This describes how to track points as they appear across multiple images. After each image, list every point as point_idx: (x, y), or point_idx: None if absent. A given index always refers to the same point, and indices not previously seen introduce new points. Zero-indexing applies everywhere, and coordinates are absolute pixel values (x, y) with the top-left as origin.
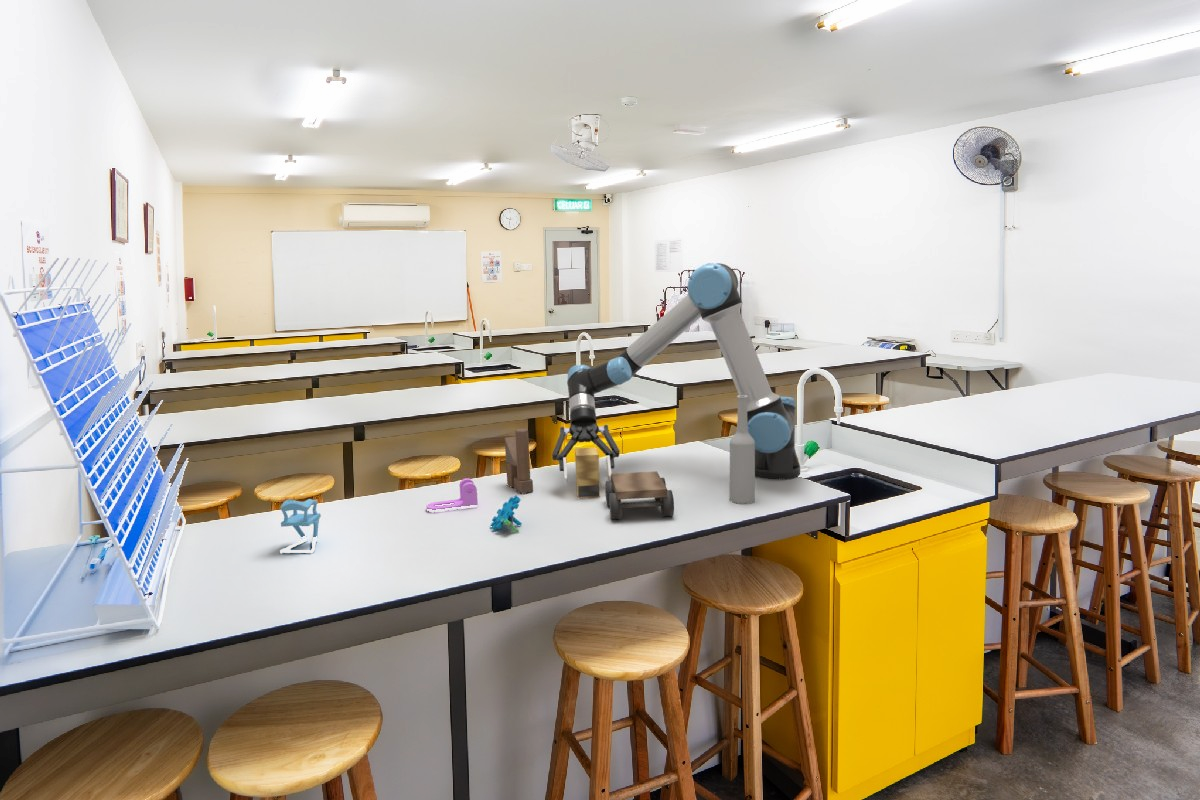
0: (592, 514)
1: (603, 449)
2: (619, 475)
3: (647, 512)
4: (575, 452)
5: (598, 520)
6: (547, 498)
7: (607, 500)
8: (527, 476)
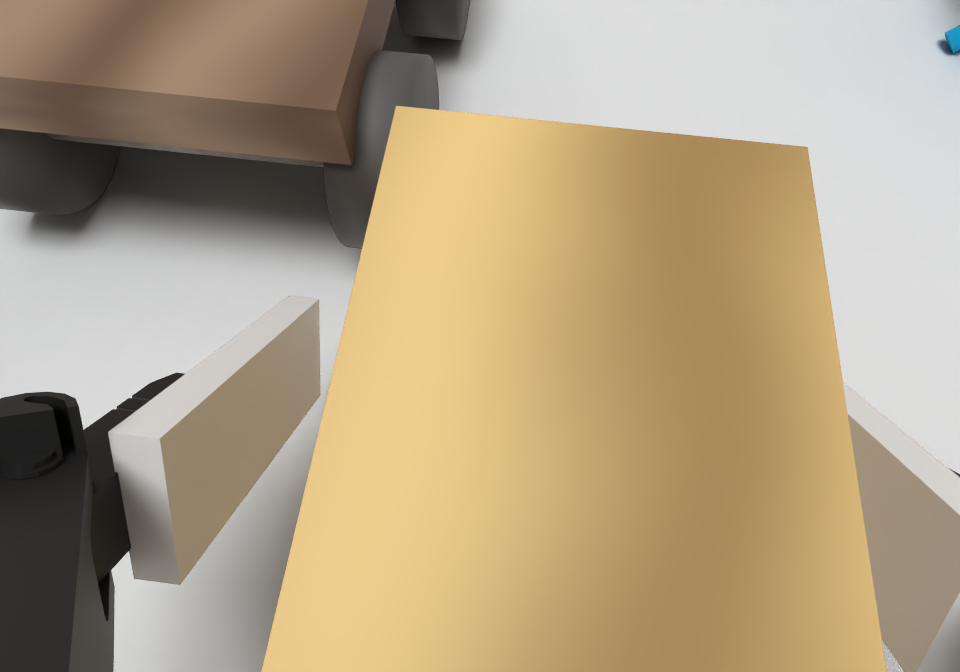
0: (551, 94)
1: (89, 655)
2: (273, 47)
3: None
4: (841, 508)
5: (534, 19)
6: None
7: None
8: None
